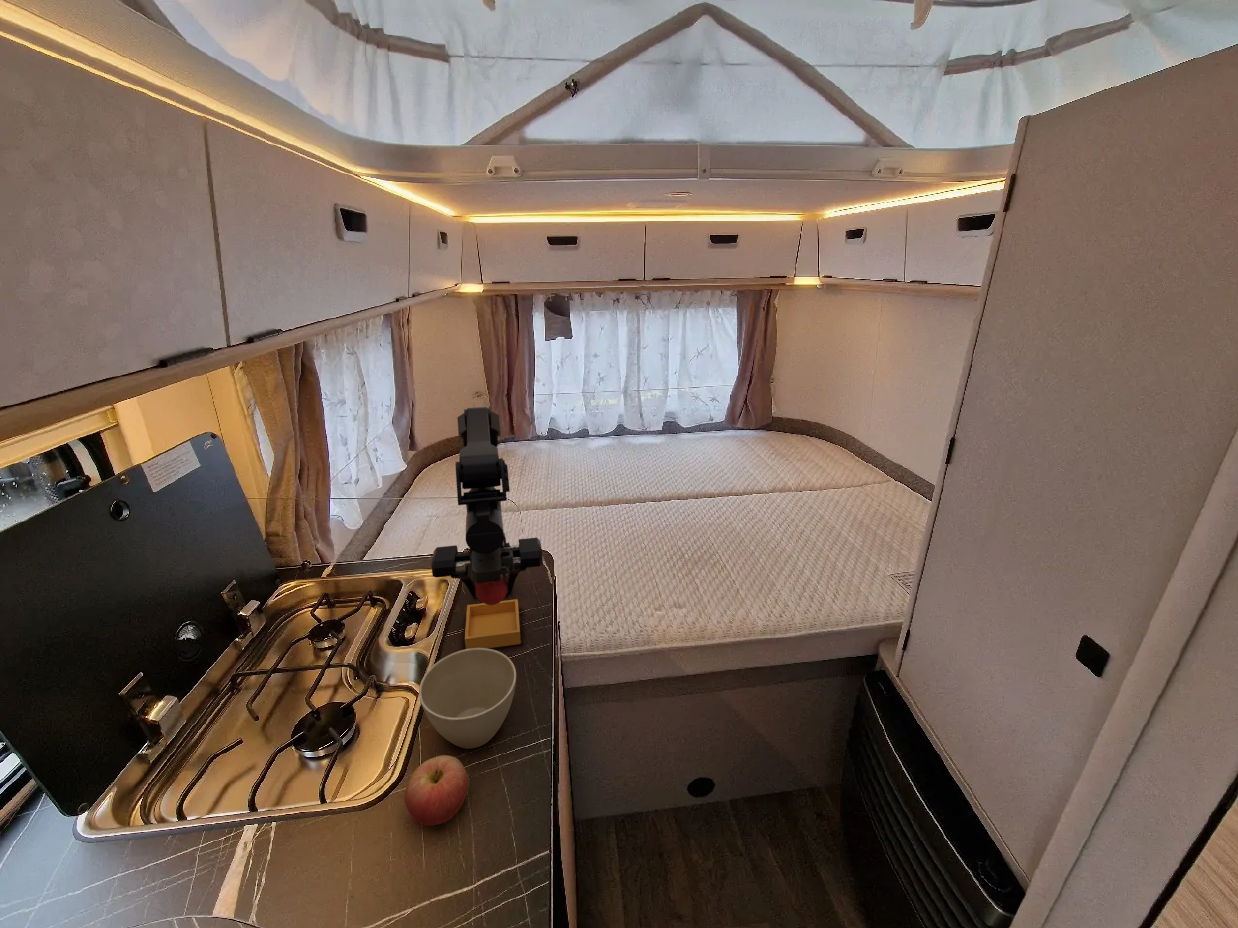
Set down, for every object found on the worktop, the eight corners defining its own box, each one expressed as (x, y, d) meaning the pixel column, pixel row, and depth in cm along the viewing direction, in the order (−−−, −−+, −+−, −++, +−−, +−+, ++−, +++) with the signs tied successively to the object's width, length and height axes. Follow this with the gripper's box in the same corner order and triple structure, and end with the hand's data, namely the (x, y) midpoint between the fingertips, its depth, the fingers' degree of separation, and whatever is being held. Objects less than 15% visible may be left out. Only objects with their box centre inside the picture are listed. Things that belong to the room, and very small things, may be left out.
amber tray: (468, 616, 107) (467, 605, 106) (518, 610, 109) (517, 598, 108) (466, 651, 98) (464, 638, 97) (520, 643, 100) (519, 631, 99)
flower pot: (528, 750, 79) (525, 701, 75) (430, 783, 73) (421, 732, 70) (509, 683, 91) (506, 637, 87) (424, 708, 86) (416, 660, 82)
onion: (512, 595, 98) (510, 560, 95) (503, 615, 93) (500, 579, 90) (483, 593, 99) (479, 557, 96) (472, 613, 93) (468, 576, 90)
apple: (483, 796, 72) (478, 756, 69) (440, 850, 65) (432, 808, 62) (442, 770, 75) (435, 730, 72) (396, 818, 69) (387, 777, 66)
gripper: (422, 552, 80) (434, 632, 86) (543, 540, 84) (547, 617, 90) (430, 517, 90) (440, 591, 96) (538, 508, 94) (541, 579, 100)
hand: (492, 595), depth 95 cm, fingers closed on onion, 6 cm apart
